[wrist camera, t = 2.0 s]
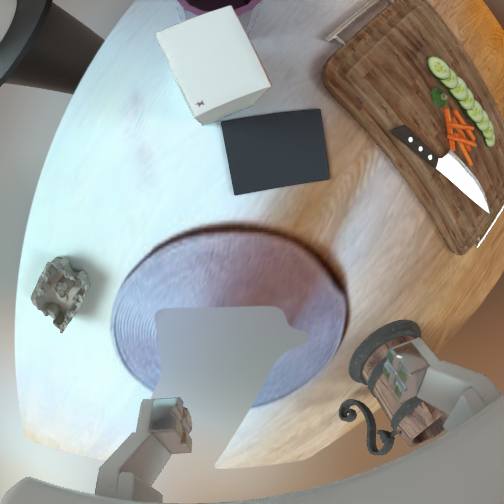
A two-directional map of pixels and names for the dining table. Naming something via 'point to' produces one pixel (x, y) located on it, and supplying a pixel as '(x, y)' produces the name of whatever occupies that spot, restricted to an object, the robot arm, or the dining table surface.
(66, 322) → the egg carton
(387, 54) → the chopping board
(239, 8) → the plum cup
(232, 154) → the coaster pad
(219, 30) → the small box
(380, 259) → the dining table surface
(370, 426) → the tankard
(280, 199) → the dining table surface
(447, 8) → the dining table surface
